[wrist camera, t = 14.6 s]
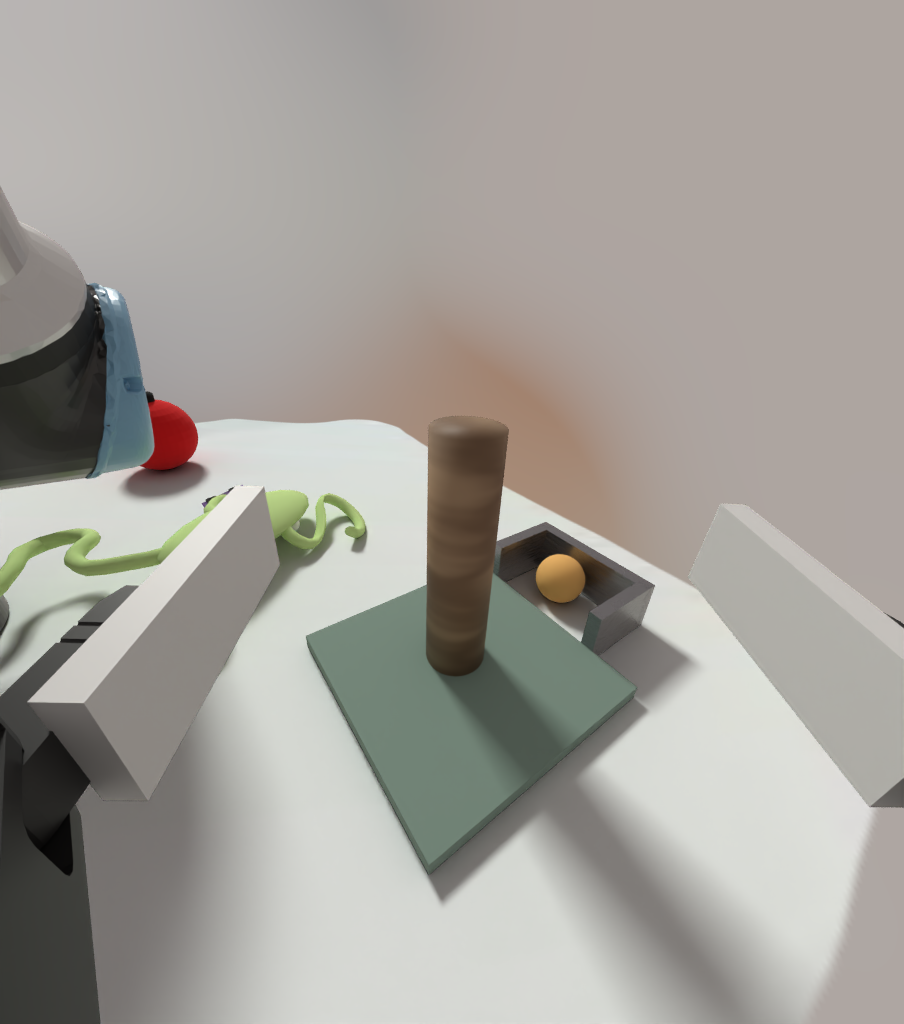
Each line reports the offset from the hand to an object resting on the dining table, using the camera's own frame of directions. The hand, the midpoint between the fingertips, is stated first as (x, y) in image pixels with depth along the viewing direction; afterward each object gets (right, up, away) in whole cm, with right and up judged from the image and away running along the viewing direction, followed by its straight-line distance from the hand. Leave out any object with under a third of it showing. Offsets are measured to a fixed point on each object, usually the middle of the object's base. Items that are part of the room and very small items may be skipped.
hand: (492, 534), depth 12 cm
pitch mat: (0, -10, +16) cm, 19 cm away
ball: (+8, -5, +22) cm, 24 cm away
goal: (+8, -7, +22) cm, 25 cm away
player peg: (-1, -9, +16) cm, 18 cm away
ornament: (-40, +7, +43) cm, 59 cm away
